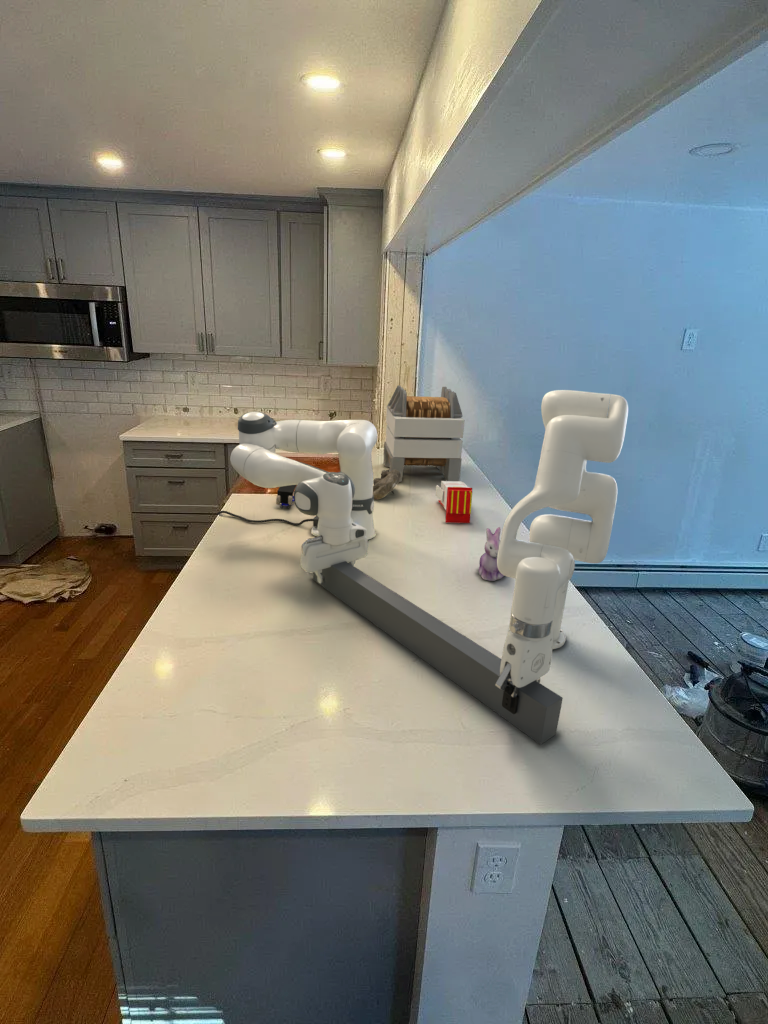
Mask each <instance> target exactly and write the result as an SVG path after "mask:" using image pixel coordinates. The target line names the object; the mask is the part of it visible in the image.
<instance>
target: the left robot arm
mask: <svg viewBox="0 0 768 1024" xmlns="http://www.w3.org/2000/svg"><path fill="white" fill-rule="evenodd" d="M237 430H238V442H239V444H238V445H236V446H235V447H234V448H233V449H232V451H231V453H230V457H229V459H230V460H229V461H230V465H231V467H232V468H233V469H234V470H235V471H236V473H237V474H239V476H241V477H242V478H243V479H245V480H246V481H248V482H250V483H252V484H253V485H254V486H257V487H261V488H266V489H276V488H279V487H282V486H288V485H296V487H295V490H294V501H293V503H294V506H295V508H296V509H297V510H298V511H299V512H300V513H302V514H304V515H306V516H311V517H313V518H305V519H302V520H301V521H300V522H292V521H289V520H287V519H283V518H269V519H260V520H259V519H256V520H254V519H248V518H245V517H244V516H241V515H237V514H235V513H233V512H230V511H227V510H220V511H218V512H217V513H215V514H216V515H217V516H219V515H221V514H227V515H230V516H231V517H234V518H238V519H240V520H243V521H245V522H247V523H252V524H261V523H268V522H269V523H270V522H283V523H286V524H289V525H291V526H296V527H297V526H301V525H303V524H304V523H307V522H312V528H311V530H310V533H311V536H314V537H310V538H307V539H305V541H303V543H302V544H301V553H300V554H301V555H300V568H301V569H302V570H303V571H304V572H306V574H307V573H308V574H311V573H313V572H315V574H316V575H317V581H318V582H319V583H320V584H321V583H324V582H325V577H324V576H323V575H321V574H320V573H322V569H325V568H329V567H331V565H334V564H338V563H341V562H345V561H346V562H348V563H349V564H351V565H353V566H354V567H355V564H356V561H357V560H361V559H365V558H366V557H367V555H368V553H369V544H368V543H369V541H368V540H372V539H373V538H375V537H376V535H377V532H376V528H375V523H374V513H373V512H374V509H375V499H374V496H373V486H374V484H373V480H374V470H373V460H372V457H373V456H372V452H373V448H374V447H375V446H376V444H377V442H378V430H377V427H376V425H374V423H373V422H371V421H369V420H367V419H339V420H336V419H335V420H313V419H285V420H278V421H276V419H274V418H272V417H271V416H270V415H268V414H266V412H265V413H264V412H262V411H248V412H245V413H243V414H241V416H240V417H238V420H237ZM277 450H280V451H282V452H283V451H284V452H287V453H288V452H289V453H295V454H311V455H327V454H337V455H338V464H339V471H327V470H325V469H323V468H319V467H316V466H313V465H311V464H308V463H305V462H301V461H298V460H295V459H292V458H289V457H285V456H283V455H280V454H278V453H277ZM320 584H319V585H320Z"/></svg>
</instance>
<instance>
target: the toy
mask: <svg viewBox="0 0 768 1024" xmlns="http://www.w3.org/2000/svg"><path fill="white" fill-rule="evenodd" d="M435 496H436V498H438V500H437V502H438V503H439V504H440V505H441V506H442V507H443V508H444V510H445V524H447V523H448V524H451V523H452V524H470V523H471V514H472V504H473V503H472V502H473V487H469V486H468V485H466V483H465V482H464V481H460V482H459V481H446V480H441V481H440V485H438V484H436V485H435Z"/></svg>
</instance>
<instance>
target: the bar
mask: <svg viewBox="0 0 768 1024" xmlns="http://www.w3.org/2000/svg"><path fill="white" fill-rule="evenodd" d="M320 574H321V575H323V576H324V577H325V582H324V583H321V584H320V583H319V582H318V581H317V575H316V574H315V572H312V580H313V581H314V582H315V583H317V584H318V585H319V586H321V587H322V588H324V589H325V590H326V591H327V592H329V593H330V594H332V595H333V596H335V597H336V598H337V599H339V600H340V601H341V602H343V603H344V604H345V605H347V606H348V607H350V608H351V609H353V610H354V611H355V612H357V613H358V614H359V615H360V616H362V617H364V618H365V619H367V620H368V622H370V623H372V624H373V625H374V626H376V627H377V628H379V629H380V630H382V632H384V633H386V634H387V635H389V636H390V637H391V638H392V639H394V640H395V641H396V642H398V643H399V644H401V645H402V646H404V647H405V649H408V650H409V651H410V652H412V653H413V654H414V655H416V656H418V658H420V659H421V660H423V661H424V662H426V663H427V664H428V665H429V666H431V667H432V668H434V669H436V670H437V671H439V673H441V674H442V675H443V676H445V678H447V679H449V680H450V681H452V682H453V683H454V684H456V685H457V686H458V687H460V688H461V689H463V690H464V691H466V692H467V693H468V694H470V695H471V696H472V697H473V698H475V699H476V700H478V701H480V702H481V703H482V704H483V705H484V706H486V707H488V708H489V709H490V710H492V712H494V713H496V714H497V715H499V716H500V717H501V718H503V719H504V720H506V721H507V722H508V723H510V724H511V725H512V726H514V727H515V728H517V729H518V730H519V731H520V732H522V733H524V734H525V735H526V736H528V737H529V738H530V739H532V740H533V741H534V742H535V743H537V744H538V745H540V746H541V745H543V744H544V743H545V742H547V741H549V740H550V739H551V738H553V737H554V736H556V735H557V732H558V731H557V730H558V726H559V721H560V716H561V711H562V704H563V699H564V697H562V696H561V695H559V694H558V693H556V692H555V691H553V690H551V689H550V688H548V687H547V686H545V685H544V684H541V682H540V683H539V682H537V681H533V682H531V683H529V684H528V685H526V686H523V687H520V688H519V690H518V693H517V696H519V700H518V706H517V713H516V714H512V713H511V712H509V711H508V710H507V709H505V708H504V707H503V706H502V700H503V693H504V691H503V690H501V689H499V688H498V687H497V686H495V684H496V682H497V680H498V679H499V677H500V665H501V657H499V656H497V655H496V654H494V653H493V652H491V651H489V650H488V649H486V648H484V647H483V646H481V645H480V644H478V643H476V642H475V641H473V640H471V638H468V637H467V636H466V635H464V634H462V632H459V631H458V630H456V629H454V628H453V627H452V626H449V625H448V624H446V623H445V622H443V621H442V620H440V619H438V618H437V617H435V616H433V615H432V614H431V613H429V612H427V611H425V610H424V609H423V608H421V607H420V606H418V605H416V604H414V603H413V602H412V601H410V600H408V599H407V598H405V597H403V596H402V595H401V594H399V593H397V592H395V591H394V590H392V589H391V588H389V587H387V586H386V585H385V584H383V583H381V582H379V581H378V580H376V579H374V578H373V577H371V576H370V575H368V574H367V573H365V572H364V571H362V570H360V569H359V568H357V567H356V566H355V565H354V566H353V565H351V564H349V563H348V562H346V561H345V562H341V563H338V564H334V565H331V567H329V568H325V569H322V573H320ZM509 687H511V688H512V689H513V687H514V685H513V683H512V682H510V684H509Z"/></svg>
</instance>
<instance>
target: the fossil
mask: <svg viewBox="0 0 768 1024" xmlns="http://www.w3.org/2000/svg"><path fill="white" fill-rule="evenodd" d="M400 478H401V474H400V472H399V471H397V470H396V469H395V470H392V471H390V469H386V470H382V471H381V473H380V477H375V478H373V496H374V501H377V500H381V499H383V498H384V499H385V497H386V496H387V495H389V494H390V493H392V494H393V495H394V494H395V492H394V491H393V490H394V489H395V487H396V486H397V485H398V484H399V483H400V482H399V480H400Z"/></svg>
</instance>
